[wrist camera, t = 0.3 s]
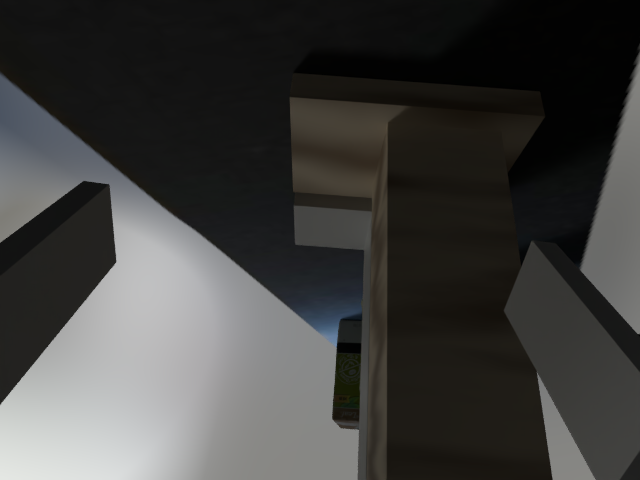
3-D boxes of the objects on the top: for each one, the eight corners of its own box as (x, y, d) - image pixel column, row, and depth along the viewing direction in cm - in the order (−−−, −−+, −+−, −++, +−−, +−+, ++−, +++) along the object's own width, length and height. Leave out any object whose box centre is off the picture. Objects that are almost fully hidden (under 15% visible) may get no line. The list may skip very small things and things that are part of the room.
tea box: (439, 319, 66) (445, 429, 59) (435, 339, 75) (440, 437, 68) (337, 318, 69) (331, 423, 62) (344, 337, 78) (340, 431, 71)
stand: (296, 185, 38) (242, 649, 24) (462, 198, 38) (504, 670, 24) (297, 226, 45) (255, 615, 31) (440, 237, 45) (463, 632, 31)
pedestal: (293, 72, 28) (196, 779, 14) (539, 91, 28) (692, 820, 14) (295, 171, 37) (238, 662, 23) (482, 185, 37) (540, 687, 23)
